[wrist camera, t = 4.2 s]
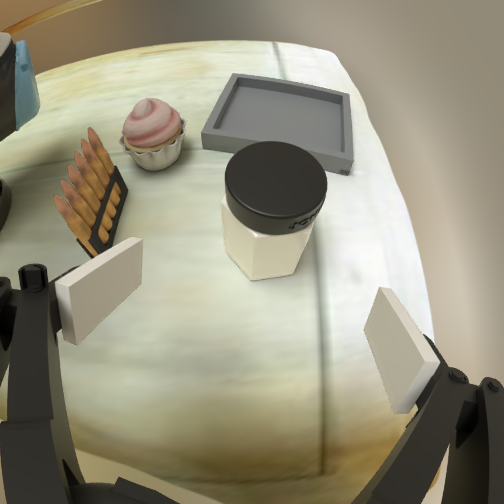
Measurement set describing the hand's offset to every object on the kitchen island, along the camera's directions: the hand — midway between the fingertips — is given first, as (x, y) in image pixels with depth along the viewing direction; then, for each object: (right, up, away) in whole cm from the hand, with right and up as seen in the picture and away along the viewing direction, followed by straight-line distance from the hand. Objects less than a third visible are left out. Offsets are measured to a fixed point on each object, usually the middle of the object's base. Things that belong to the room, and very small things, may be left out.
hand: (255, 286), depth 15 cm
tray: (+5, +22, +28) cm, 35 cm away
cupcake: (-13, +15, +24) cm, 31 cm away
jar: (+1, +2, +18) cm, 18 cm away
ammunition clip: (-18, +5, +18) cm, 26 cm away
